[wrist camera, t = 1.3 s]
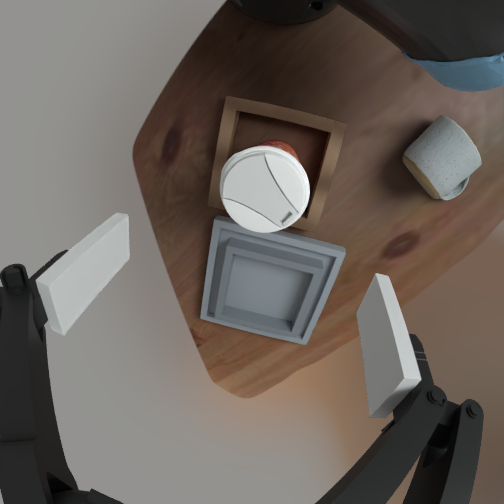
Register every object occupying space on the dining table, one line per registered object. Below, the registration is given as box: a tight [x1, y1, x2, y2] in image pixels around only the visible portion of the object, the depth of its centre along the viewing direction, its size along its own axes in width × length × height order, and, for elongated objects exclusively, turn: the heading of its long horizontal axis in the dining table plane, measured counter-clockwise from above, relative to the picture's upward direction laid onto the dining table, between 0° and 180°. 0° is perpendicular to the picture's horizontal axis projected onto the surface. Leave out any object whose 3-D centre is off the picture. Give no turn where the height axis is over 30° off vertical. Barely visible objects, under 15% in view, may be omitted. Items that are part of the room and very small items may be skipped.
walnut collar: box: [207, 96, 347, 233], centre depth 35 cm, size 14×14×2 cm
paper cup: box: [220, 140, 310, 233], centre depth 30 cm, size 8×8×14 cm
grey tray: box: [200, 215, 346, 345], centre depth 44 cm, size 18×18×3 cm
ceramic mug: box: [403, 115, 481, 200], centre depth 29 cm, size 11×8×8 cm
